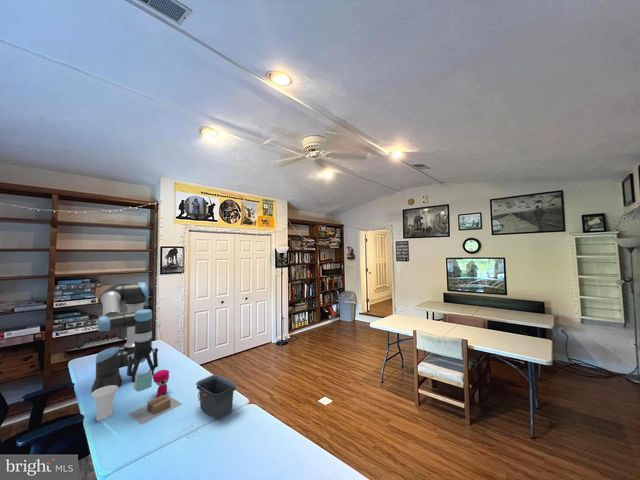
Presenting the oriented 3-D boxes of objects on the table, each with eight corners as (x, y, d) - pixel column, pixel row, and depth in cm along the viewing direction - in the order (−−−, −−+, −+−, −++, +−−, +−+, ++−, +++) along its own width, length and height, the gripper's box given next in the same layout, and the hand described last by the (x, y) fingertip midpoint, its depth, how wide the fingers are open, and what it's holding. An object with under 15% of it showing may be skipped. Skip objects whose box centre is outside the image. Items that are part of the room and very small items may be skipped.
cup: (87, 426, 126) (88, 398, 126) (94, 414, 135) (95, 388, 136) (114, 419, 131) (115, 392, 131) (119, 408, 140) (119, 383, 140)
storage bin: (239, 411, 135) (239, 383, 136) (212, 428, 123) (212, 397, 123) (216, 398, 148) (216, 373, 148) (189, 412, 135) (189, 384, 136)
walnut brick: (147, 409, 137) (147, 402, 137) (163, 402, 143) (163, 395, 143) (154, 414, 132) (154, 406, 132) (170, 406, 139) (170, 399, 139)
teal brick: (133, 388, 133) (133, 376, 134) (146, 383, 138) (146, 372, 139) (138, 391, 130) (138, 379, 130) (151, 387, 135) (151, 375, 135)
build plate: (127, 415, 134) (127, 413, 134) (168, 397, 150) (168, 395, 150) (141, 426, 125) (141, 424, 125) (182, 405, 141) (182, 404, 141)
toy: (161, 401, 146) (161, 374, 146) (148, 400, 147) (149, 373, 148) (172, 393, 154) (172, 367, 155) (160, 392, 156) (161, 367, 156)
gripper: (124, 347, 126) (123, 395, 124) (165, 336, 141) (165, 379, 140) (118, 344, 130) (117, 391, 129) (159, 334, 145) (159, 376, 144)
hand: (142, 385), depth 134 cm, fingers closed on teal brick, 6 cm apart
